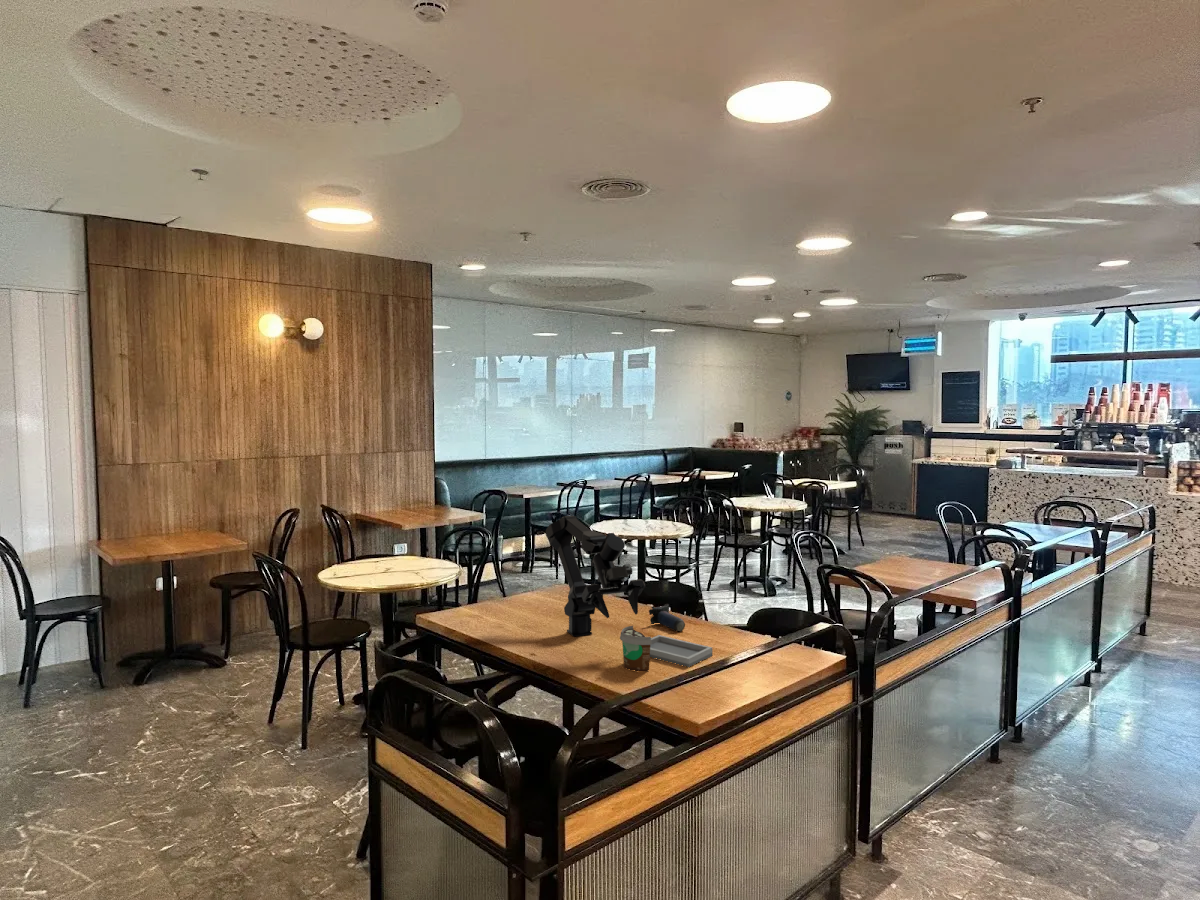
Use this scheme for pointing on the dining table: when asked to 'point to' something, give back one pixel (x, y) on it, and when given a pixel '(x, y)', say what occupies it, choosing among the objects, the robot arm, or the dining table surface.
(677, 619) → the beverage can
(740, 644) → the dining table surface
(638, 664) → the food container
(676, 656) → the dock
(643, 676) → the dining table surface
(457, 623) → the dining table surface
